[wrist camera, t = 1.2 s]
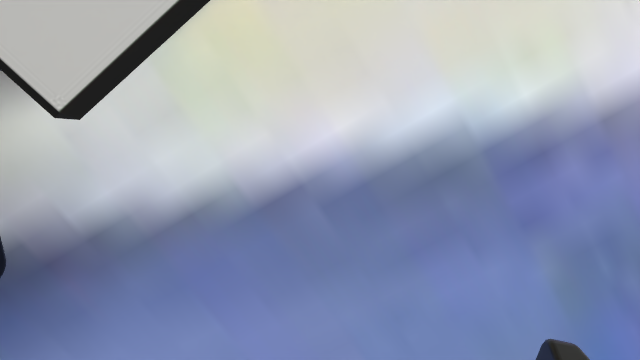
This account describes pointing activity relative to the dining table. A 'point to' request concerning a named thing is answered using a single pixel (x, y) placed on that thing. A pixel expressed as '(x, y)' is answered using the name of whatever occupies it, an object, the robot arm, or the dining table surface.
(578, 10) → the dining table surface
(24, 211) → the dining table surface
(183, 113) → the dining table surface
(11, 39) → the puzzle cube
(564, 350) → the robot arm
